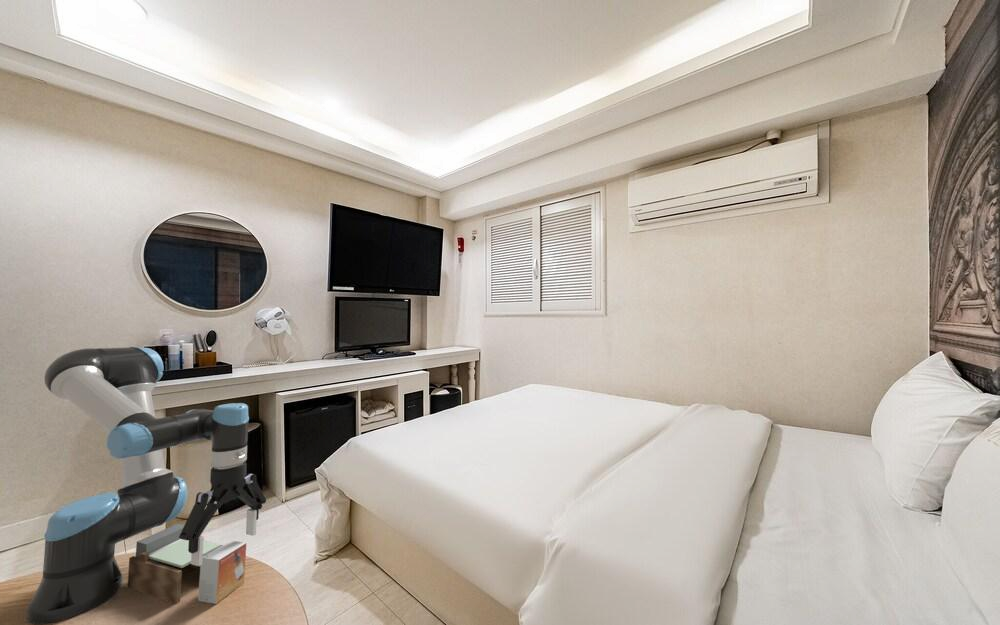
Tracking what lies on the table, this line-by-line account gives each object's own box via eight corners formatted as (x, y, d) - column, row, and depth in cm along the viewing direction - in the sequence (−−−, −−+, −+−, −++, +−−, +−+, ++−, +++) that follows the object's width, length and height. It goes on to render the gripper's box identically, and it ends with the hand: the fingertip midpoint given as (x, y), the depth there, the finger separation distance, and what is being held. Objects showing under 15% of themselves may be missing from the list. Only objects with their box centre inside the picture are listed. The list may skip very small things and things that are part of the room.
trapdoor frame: (127, 587, 93) (129, 550, 94) (178, 560, 104) (180, 527, 105) (176, 603, 88) (178, 564, 88) (224, 573, 99) (226, 539, 99)
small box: (215, 605, 87) (218, 560, 88) (197, 601, 88) (199, 557, 89) (245, 583, 95) (247, 542, 96) (227, 579, 96) (230, 539, 97)
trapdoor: (135, 565, 94) (136, 541, 95) (176, 545, 103) (177, 523, 104) (181, 579, 89) (182, 554, 89) (220, 556, 98) (221, 534, 98)
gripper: (185, 484, 81) (180, 583, 79) (281, 450, 105) (279, 525, 103) (162, 481, 83) (157, 576, 82) (262, 448, 107) (259, 522, 105)
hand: (225, 548), depth 92 cm, fingers open, 13 cm apart
